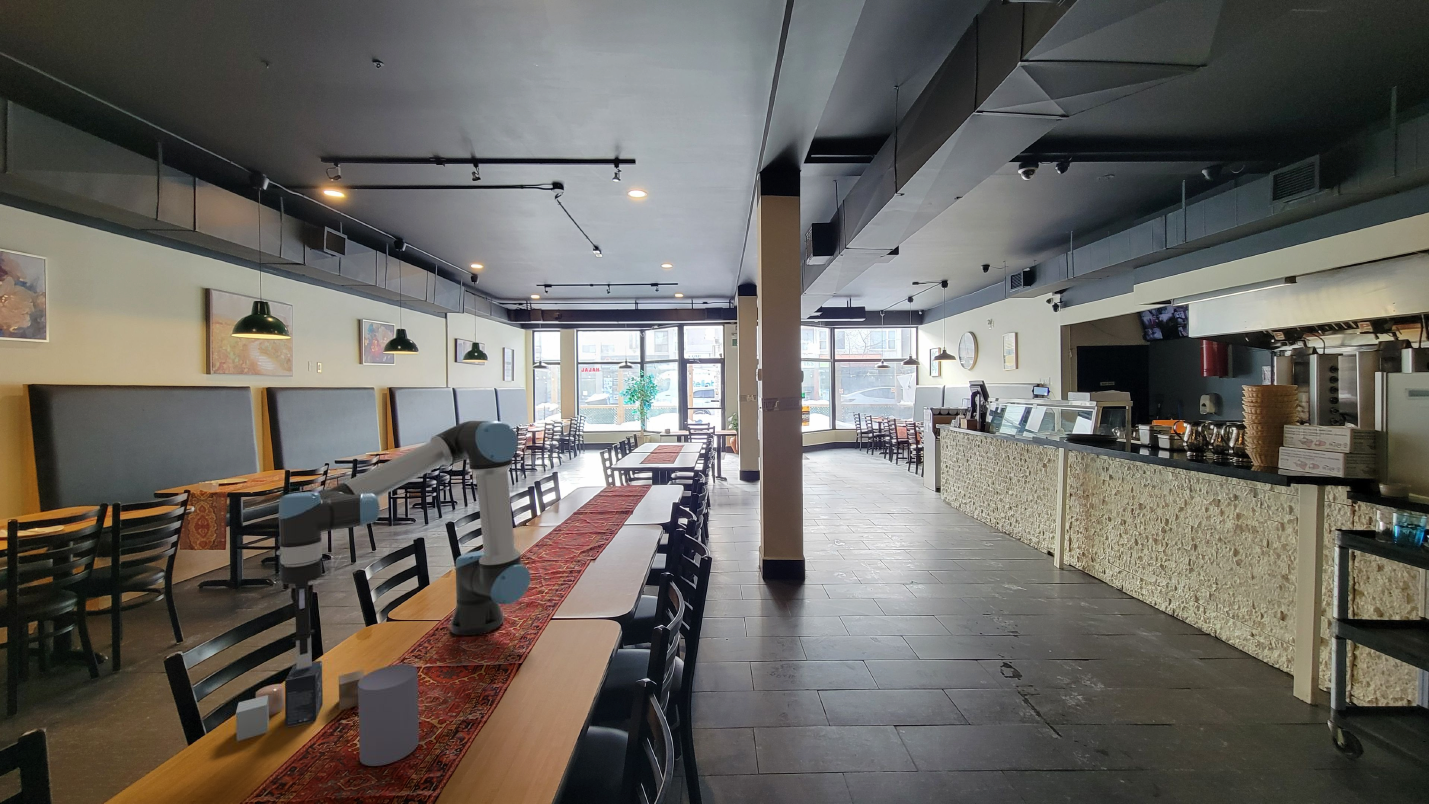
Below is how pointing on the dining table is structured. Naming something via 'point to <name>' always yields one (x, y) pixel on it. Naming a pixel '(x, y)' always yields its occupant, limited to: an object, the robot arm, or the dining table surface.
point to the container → (388, 714)
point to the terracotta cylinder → (273, 697)
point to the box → (303, 694)
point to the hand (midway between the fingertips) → (304, 666)
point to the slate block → (252, 717)
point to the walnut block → (349, 689)
